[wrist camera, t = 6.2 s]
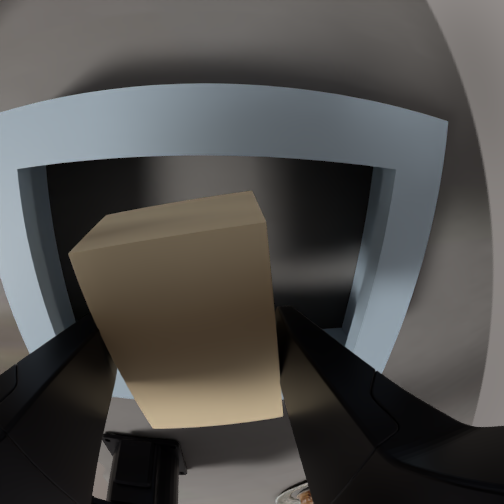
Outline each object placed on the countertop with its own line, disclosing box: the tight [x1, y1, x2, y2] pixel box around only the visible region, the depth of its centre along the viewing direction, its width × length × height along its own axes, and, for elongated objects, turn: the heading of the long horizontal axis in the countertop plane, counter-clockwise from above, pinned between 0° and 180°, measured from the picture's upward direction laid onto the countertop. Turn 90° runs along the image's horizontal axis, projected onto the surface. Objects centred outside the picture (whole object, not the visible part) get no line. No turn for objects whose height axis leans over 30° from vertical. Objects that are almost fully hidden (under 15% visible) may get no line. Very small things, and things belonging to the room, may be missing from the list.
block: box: [68, 191, 283, 429], centre depth 8 cm, size 6×4×2 cm, turn 6°
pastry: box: [276, 482, 313, 504], centre depth 27 cm, size 12×12×5 cm
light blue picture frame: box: [0, 83, 448, 399], centre depth 12 cm, size 12×16×4 cm
